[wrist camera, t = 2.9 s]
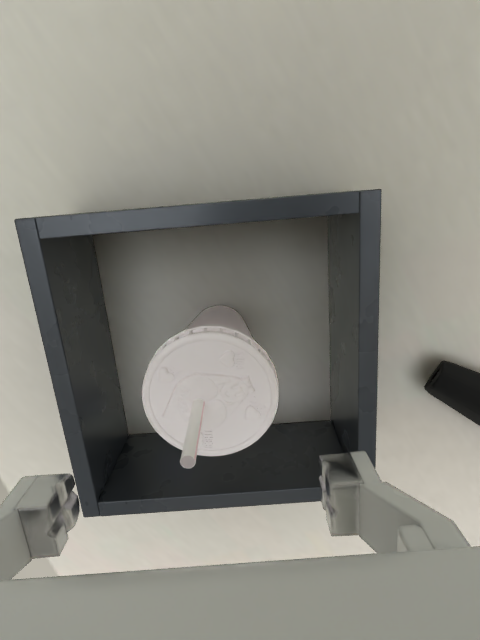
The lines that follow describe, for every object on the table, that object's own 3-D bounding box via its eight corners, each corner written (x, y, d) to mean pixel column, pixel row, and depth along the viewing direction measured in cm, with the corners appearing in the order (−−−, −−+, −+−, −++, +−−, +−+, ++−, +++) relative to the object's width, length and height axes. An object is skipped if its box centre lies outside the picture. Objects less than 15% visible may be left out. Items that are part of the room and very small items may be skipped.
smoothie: (157, 306, 27) (78, 411, 14) (246, 271, 26) (254, 345, 13) (195, 386, 29) (158, 550, 15) (279, 355, 28) (317, 498, 15)
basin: (343, 191, 25) (381, 189, 18) (344, 430, 30) (375, 497, 23) (72, 213, 25) (13, 219, 19) (117, 447, 30) (83, 517, 23)
